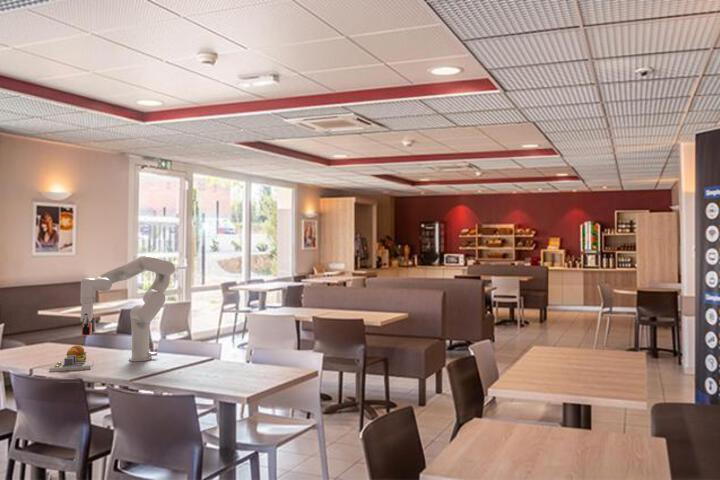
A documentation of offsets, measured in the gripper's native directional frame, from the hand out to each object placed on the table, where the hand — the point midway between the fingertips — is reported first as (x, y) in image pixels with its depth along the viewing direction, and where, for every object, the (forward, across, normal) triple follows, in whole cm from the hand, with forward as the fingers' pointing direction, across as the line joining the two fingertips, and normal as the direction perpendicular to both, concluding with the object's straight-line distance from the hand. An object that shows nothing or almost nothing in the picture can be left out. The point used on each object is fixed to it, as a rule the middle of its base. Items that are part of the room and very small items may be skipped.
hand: (86, 333), depth 335 cm
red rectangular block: (+1, 0, 0) cm, 1 cm away
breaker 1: (+16, +4, -8) cm, 19 cm away
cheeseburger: (+19, -18, -7) cm, 27 cm away
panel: (+19, +1, -6) cm, 20 cm away
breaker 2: (+16, -2, -7) cm, 18 cm away
